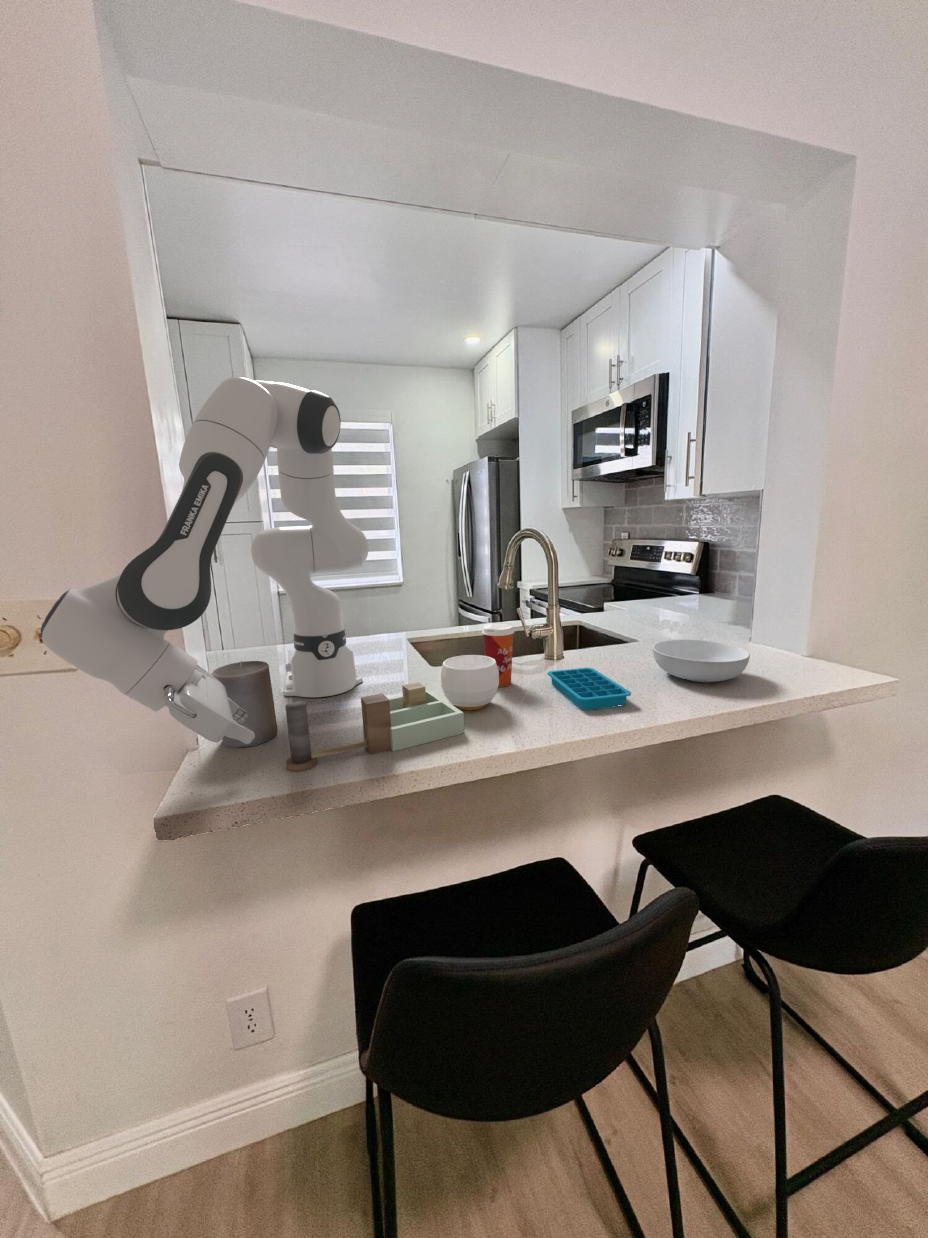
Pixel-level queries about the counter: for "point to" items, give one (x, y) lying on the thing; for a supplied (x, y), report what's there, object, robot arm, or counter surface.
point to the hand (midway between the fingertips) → (248, 728)
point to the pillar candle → (250, 699)
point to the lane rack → (423, 721)
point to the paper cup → (500, 649)
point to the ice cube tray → (588, 688)
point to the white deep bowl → (470, 680)
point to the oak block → (413, 694)
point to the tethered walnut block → (374, 741)
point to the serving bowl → (700, 659)
